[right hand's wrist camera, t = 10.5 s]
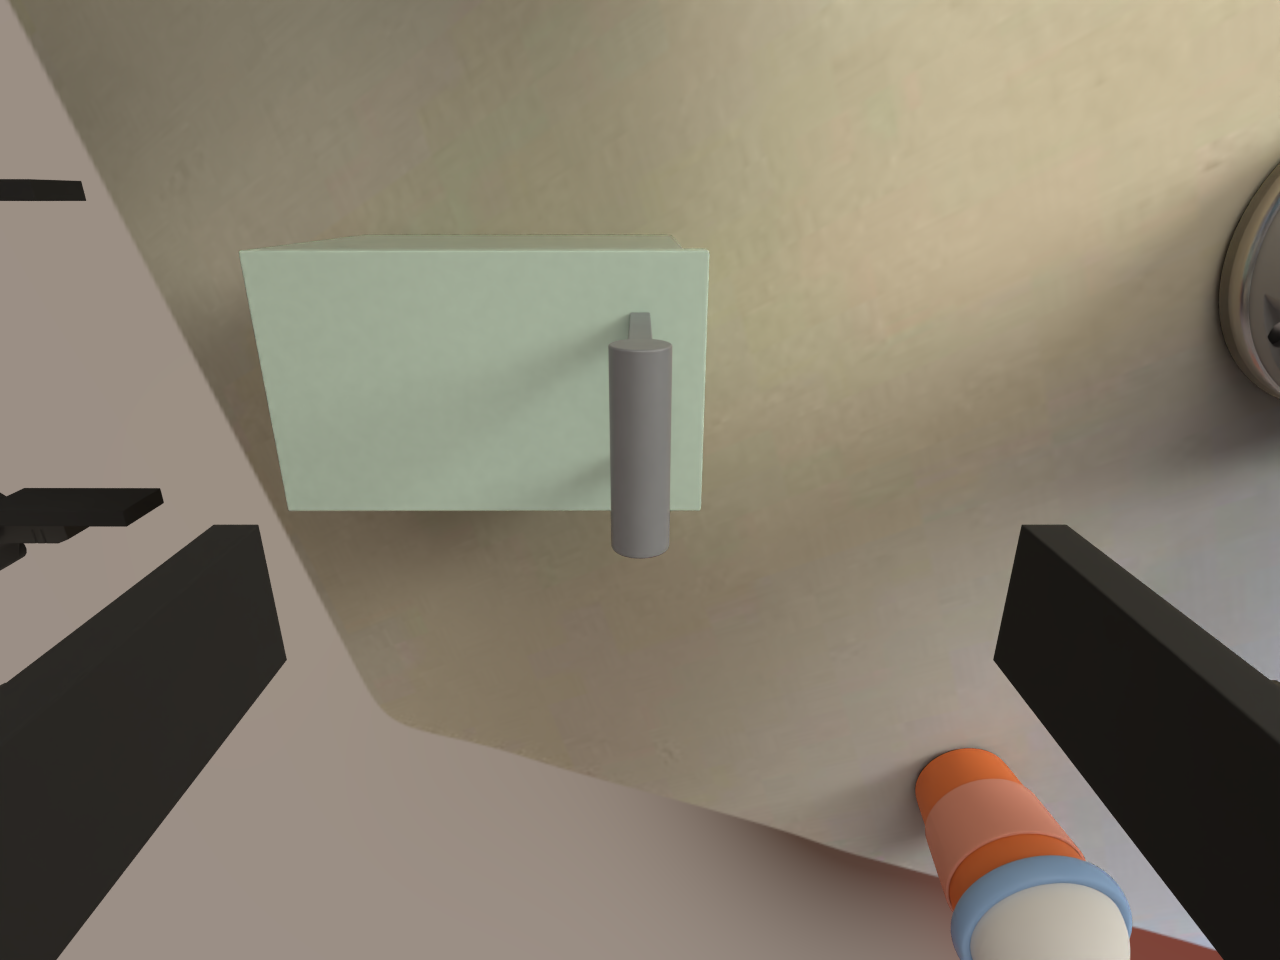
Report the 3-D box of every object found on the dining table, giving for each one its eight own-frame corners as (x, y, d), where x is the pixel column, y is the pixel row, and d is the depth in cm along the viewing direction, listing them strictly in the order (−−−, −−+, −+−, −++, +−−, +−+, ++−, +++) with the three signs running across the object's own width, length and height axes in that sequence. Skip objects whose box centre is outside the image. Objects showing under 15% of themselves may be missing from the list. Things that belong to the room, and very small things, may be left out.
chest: (671, 234, 35) (684, 248, 25) (668, 422, 39) (678, 499, 29) (363, 234, 35) (254, 248, 25) (388, 422, 39) (300, 500, 29)
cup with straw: (883, 835, 49) (1010, 1165, 32) (900, 727, 46) (1051, 1032, 29) (1017, 835, 49) (1213, 1165, 32) (1044, 727, 46) (1277, 1032, 29)
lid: (706, 248, 25) (738, 271, 17) (698, 500, 29) (722, 617, 21) (253, 248, 25) (72, 271, 17) (300, 500, 29) (167, 618, 21)
